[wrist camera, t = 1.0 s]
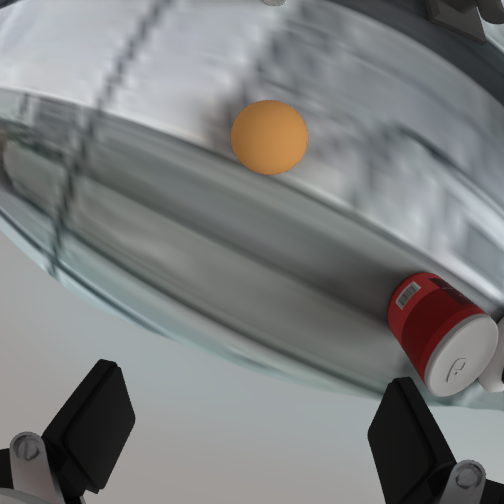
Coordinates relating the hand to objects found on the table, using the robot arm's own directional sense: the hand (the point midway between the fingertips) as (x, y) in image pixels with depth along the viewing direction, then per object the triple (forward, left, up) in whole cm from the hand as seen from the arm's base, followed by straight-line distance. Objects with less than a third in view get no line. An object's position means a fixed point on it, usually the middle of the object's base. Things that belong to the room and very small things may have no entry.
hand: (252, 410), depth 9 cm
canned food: (-17, +5, -19) cm, 26 cm away
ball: (0, -10, -16) cm, 19 cm away
